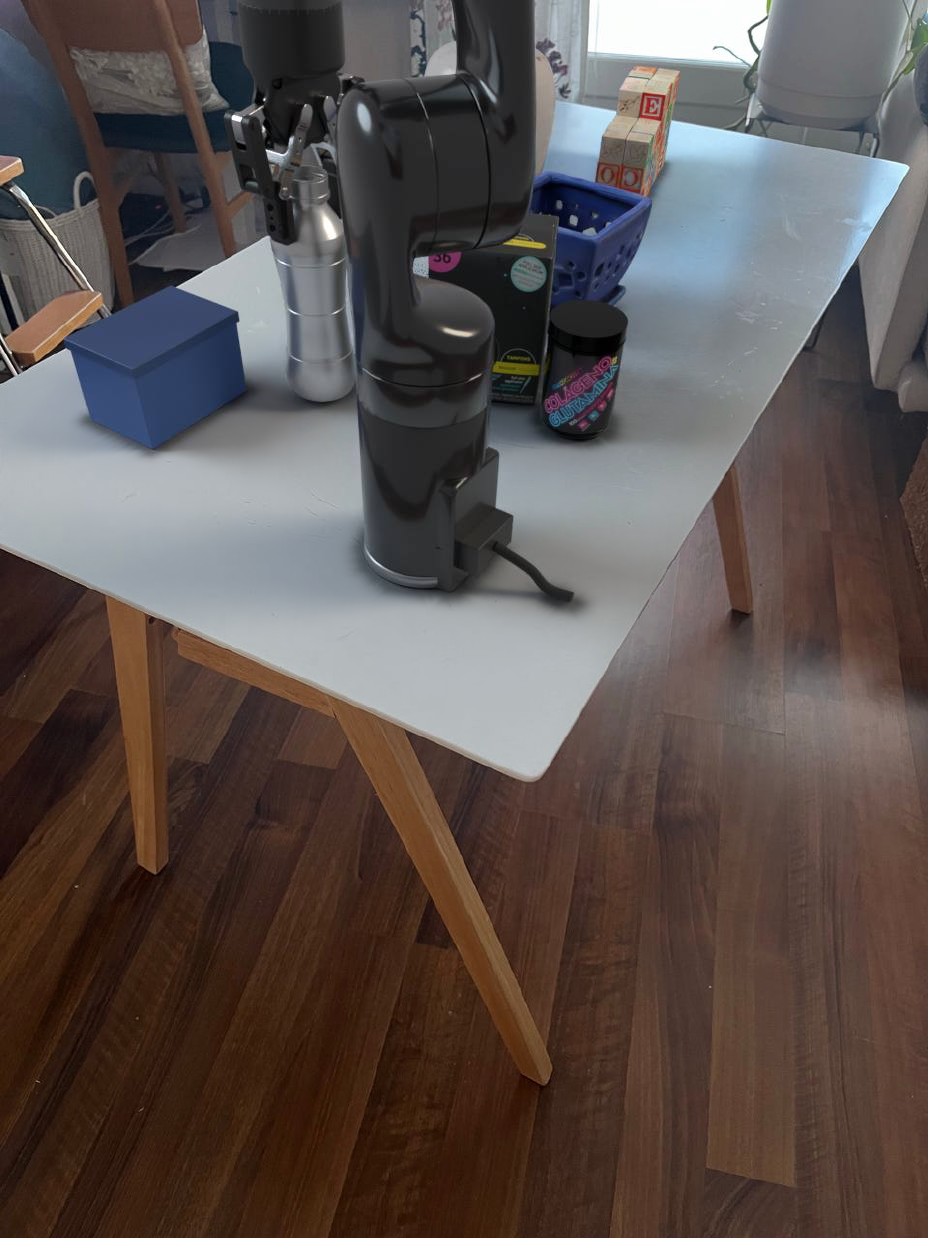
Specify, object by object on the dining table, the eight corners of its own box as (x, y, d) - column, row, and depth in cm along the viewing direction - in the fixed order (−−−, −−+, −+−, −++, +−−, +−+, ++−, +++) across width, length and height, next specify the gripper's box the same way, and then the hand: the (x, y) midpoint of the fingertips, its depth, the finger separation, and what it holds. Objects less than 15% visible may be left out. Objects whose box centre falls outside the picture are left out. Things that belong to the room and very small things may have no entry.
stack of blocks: (637, 218, 121) (654, 115, 112) (590, 211, 122) (603, 108, 114) (664, 163, 136) (681, 68, 127) (622, 157, 137) (635, 62, 128)
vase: (542, 197, 125) (560, -3, 109) (547, 248, 114) (568, 33, 98) (424, 192, 125) (424, -9, 109) (417, 242, 114) (417, 26, 98)
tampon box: (424, 394, 90) (424, 243, 79) (439, 347, 96) (442, 202, 86) (538, 407, 89) (553, 255, 78) (545, 358, 95) (561, 212, 85)
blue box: (250, 390, 89) (238, 311, 83) (152, 451, 82) (132, 368, 76) (186, 363, 92) (171, 284, 86) (87, 419, 85) (62, 338, 79)
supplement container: (524, 424, 87) (534, 319, 79) (563, 394, 90) (576, 292, 83) (585, 451, 84) (602, 345, 76) (624, 419, 88) (643, 316, 80)
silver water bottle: (347, 414, 86) (333, 192, 72) (277, 404, 87) (250, 182, 73) (366, 379, 91) (356, 163, 77) (300, 370, 92) (278, 155, 78)
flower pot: (582, 354, 96) (598, 239, 88) (474, 317, 101) (479, 205, 92) (638, 306, 104) (657, 196, 96) (534, 273, 109) (544, 166, 100)
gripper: (259, 19, 60) (286, 271, 72) (391, -17, 69) (396, 213, 81) (176, 1, 63) (215, 246, 75) (313, -33, 72) (329, 192, 84)
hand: (309, 228), depth 78 cm, fingers closed on silver water bottle, 6 cm apart
